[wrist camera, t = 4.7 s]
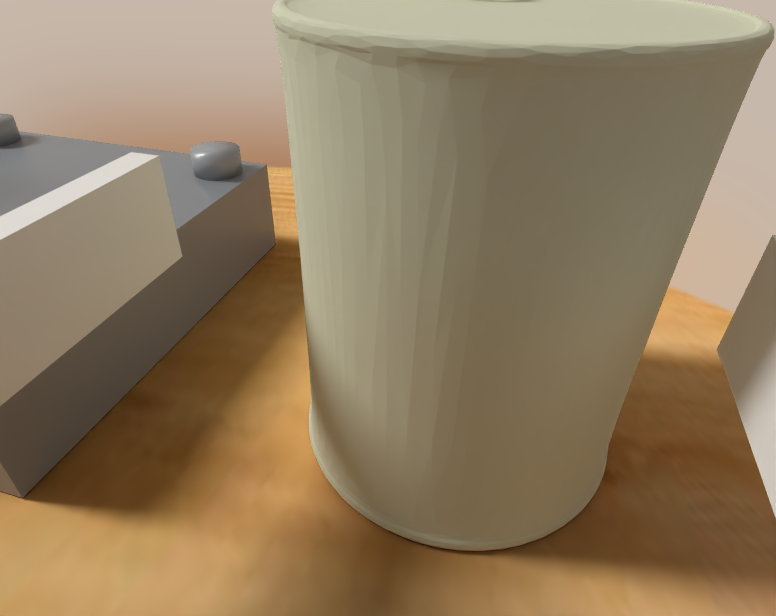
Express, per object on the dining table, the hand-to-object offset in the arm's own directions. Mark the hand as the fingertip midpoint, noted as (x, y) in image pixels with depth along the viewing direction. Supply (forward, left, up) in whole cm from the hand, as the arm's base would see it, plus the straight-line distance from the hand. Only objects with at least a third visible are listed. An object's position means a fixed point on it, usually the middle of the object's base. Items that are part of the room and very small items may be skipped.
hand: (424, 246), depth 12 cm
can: (-1, -2, -7) cm, 7 cm away
